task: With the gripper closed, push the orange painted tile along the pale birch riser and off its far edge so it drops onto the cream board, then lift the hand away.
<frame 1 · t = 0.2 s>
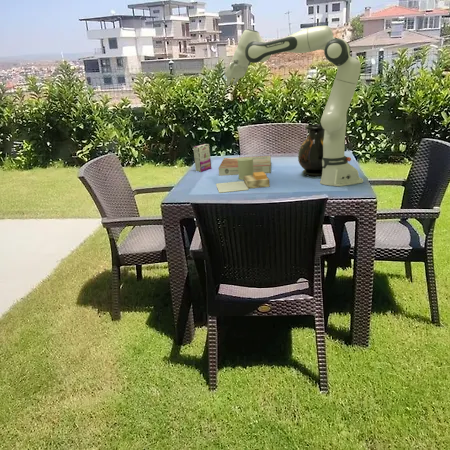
hand: (230, 84, 242), 54 cm above the table, tool tilted 30°, fingers open, 8 cm apart
amphora vase: (316, 174, 260), on the table
candy bar box: (203, 170, 295), on the table
birch riser: (256, 184, 247), on the table
can: (246, 178, 264), on the table
cream board: (231, 187, 246), on the table
orange tile: (259, 177, 246), point 4 cm above the table, touching birch riser
pizza box: (246, 169, 289), on the table
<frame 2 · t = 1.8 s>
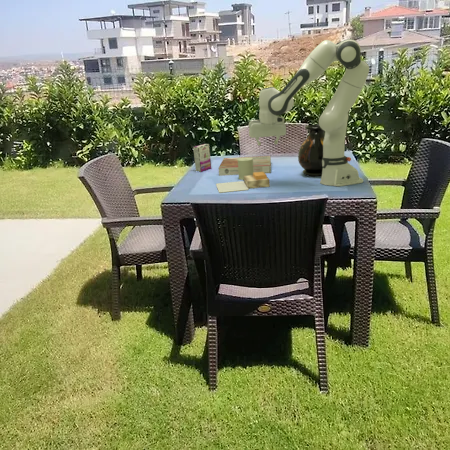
hand: (267, 144, 241), 21 cm above the table, tool pointing down, fingers open, 8 cm apart
nothing on the table moved.
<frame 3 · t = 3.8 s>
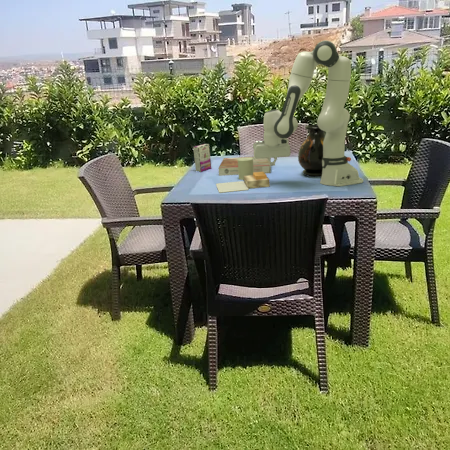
hand: (272, 165, 245), 10 cm above the table, tool pointing down, fingers closed
nothing on the table moved.
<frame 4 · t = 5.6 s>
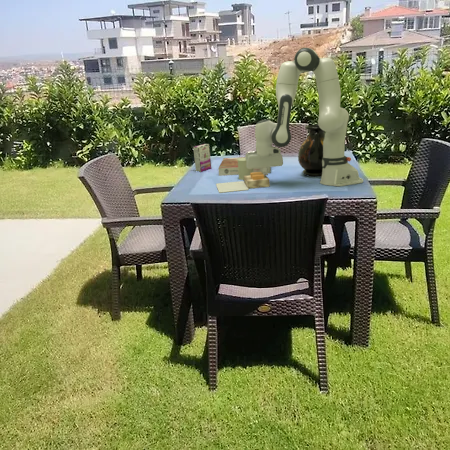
hand: (265, 175, 246), 5 cm above the table, tool pointing down, fingers closed
orange tile: (257, 177, 246), point 4 cm above the table, touching birch riser
everything else where it was.
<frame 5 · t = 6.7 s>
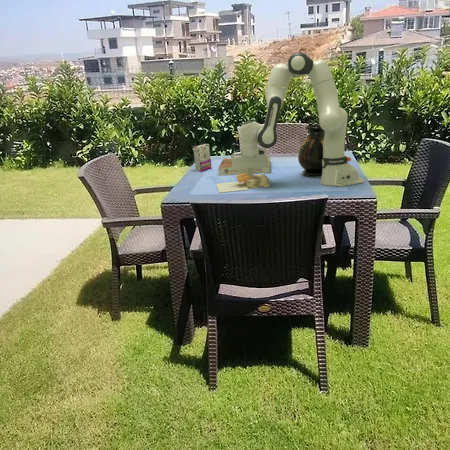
hand: (250, 176, 245), 5 cm above the table, tool pointing down, fingers closed
orange tile: (243, 179, 245), point 4 cm above the table, tilted 14°, touching gripper
everything else where it was.
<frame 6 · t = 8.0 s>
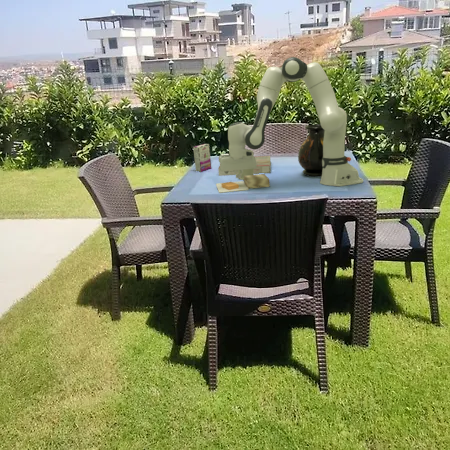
hand: (238, 177, 245), 5 cm above the table, tool pointing down, fingers closed
orange tile: (230, 187, 244), resting on cream board
everything else where it was.
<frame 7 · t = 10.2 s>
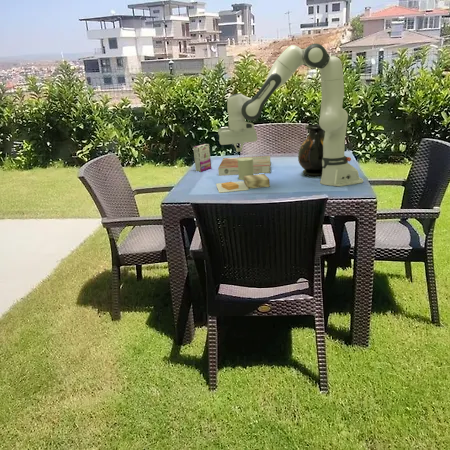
hand: (239, 151, 239), 19 cm above the table, tool pointing down, fingers closed
nothing on the table moved.
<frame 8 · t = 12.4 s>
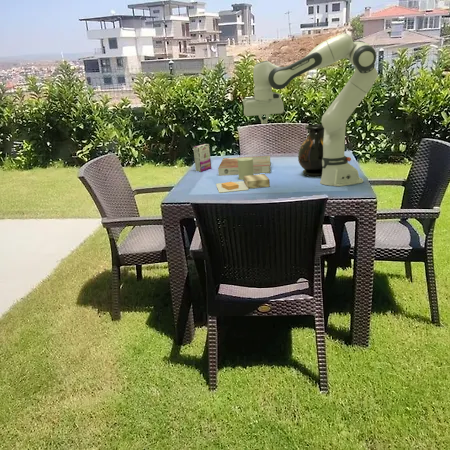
hand: (264, 123, 227), 34 cm above the table, tool pointing down, fingers closed
nothing on the table moved.
at the end: orange tile inside the target area (2.4 cm from its centre), resting on cream board; the gripper is holding nothing; can moved 0.2 cm from its start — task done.
